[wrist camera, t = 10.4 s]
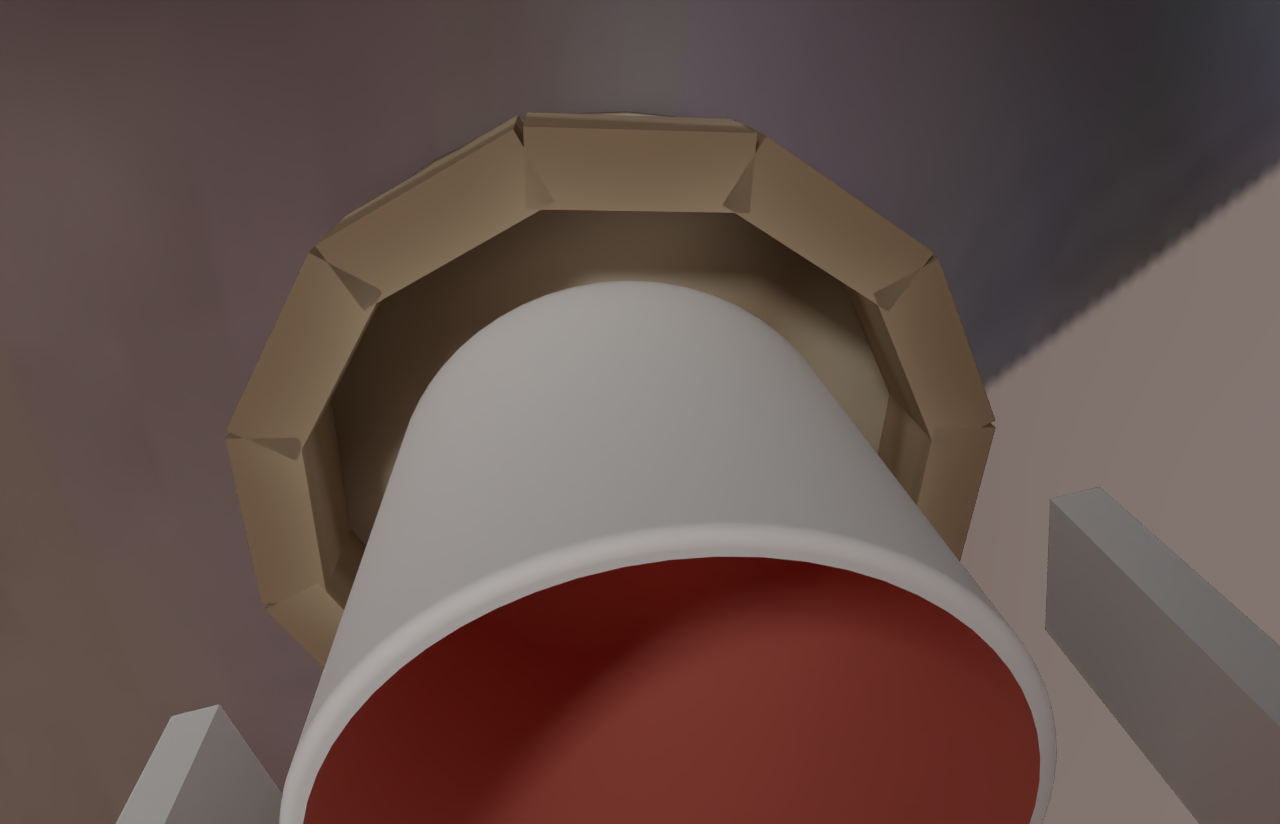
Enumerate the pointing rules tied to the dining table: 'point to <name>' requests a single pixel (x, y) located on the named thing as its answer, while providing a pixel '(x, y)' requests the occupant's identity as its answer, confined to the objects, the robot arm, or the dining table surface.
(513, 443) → the cup
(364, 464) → the hub plate
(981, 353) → the dining table surface
